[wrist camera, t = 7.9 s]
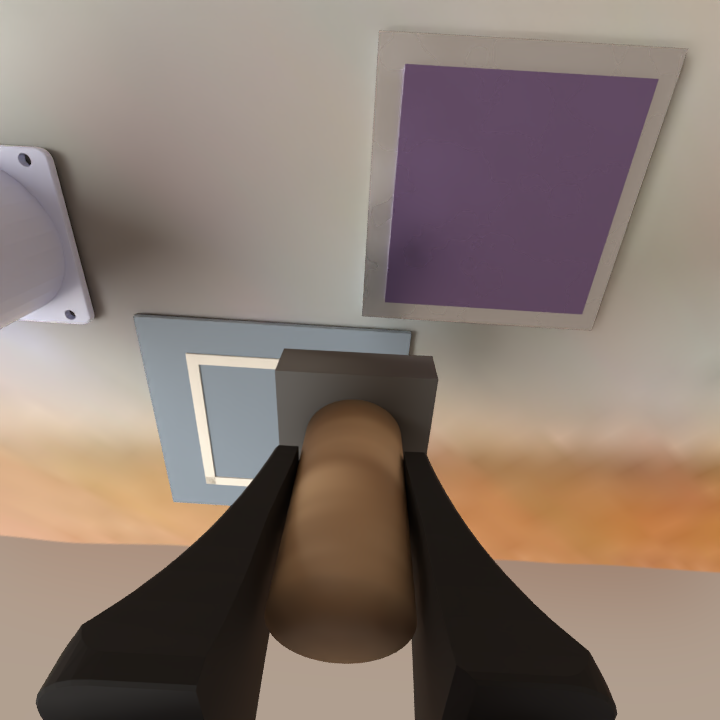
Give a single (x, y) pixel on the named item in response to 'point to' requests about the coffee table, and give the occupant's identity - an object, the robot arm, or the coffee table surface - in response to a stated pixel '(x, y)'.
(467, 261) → the ink pad
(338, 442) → the wooden stamp
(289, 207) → the coffee table surface
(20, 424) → the coffee table surface
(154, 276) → the coffee table surface
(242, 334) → the marked board
